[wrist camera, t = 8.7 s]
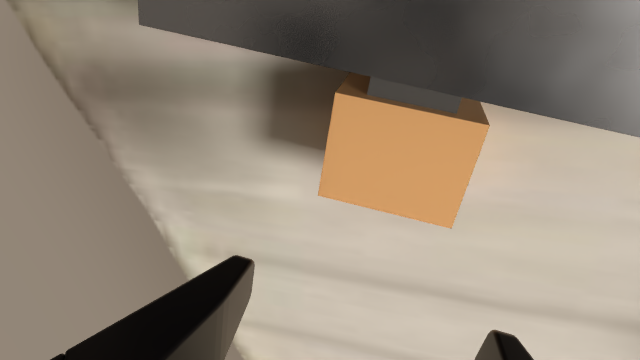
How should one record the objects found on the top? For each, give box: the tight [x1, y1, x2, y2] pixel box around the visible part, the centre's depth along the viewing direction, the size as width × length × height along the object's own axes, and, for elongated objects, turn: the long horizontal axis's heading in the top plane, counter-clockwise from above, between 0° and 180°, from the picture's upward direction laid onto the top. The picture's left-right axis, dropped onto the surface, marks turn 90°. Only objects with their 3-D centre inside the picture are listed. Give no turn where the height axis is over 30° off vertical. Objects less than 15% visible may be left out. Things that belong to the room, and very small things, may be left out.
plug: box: [318, 72, 490, 228], centre depth 14 cm, size 5×12×4 cm, turn 171°
